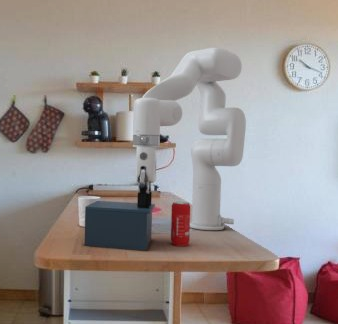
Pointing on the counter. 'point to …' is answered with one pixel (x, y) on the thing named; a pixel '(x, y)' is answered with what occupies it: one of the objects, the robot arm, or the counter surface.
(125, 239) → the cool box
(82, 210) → the white cup
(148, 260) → the counter surface
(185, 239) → the beverage can
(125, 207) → the lid
